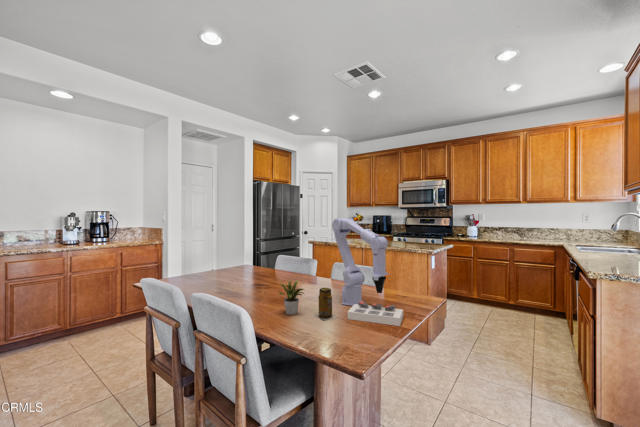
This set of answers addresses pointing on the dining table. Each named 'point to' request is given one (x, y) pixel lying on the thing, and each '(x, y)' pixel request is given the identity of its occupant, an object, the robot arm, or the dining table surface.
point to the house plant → (291, 297)
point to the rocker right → (390, 307)
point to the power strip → (376, 315)
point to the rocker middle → (376, 306)
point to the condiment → (325, 304)
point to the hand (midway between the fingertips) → (379, 292)
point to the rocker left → (363, 304)
